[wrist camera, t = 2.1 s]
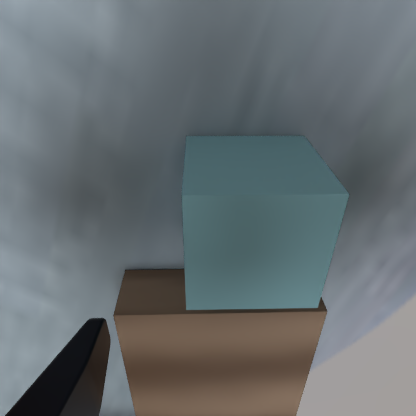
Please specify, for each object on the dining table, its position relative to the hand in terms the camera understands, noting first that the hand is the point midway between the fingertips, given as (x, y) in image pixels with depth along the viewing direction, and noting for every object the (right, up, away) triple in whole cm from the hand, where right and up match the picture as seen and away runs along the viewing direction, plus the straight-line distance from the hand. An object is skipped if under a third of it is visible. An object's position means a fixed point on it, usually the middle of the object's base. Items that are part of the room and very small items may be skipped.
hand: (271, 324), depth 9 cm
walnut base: (-1, -4, +12) cm, 12 cm away
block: (0, +4, +6) cm, 8 cm away
